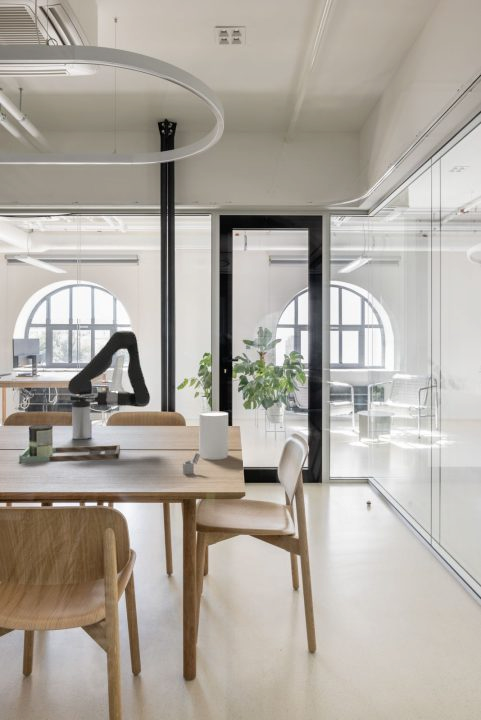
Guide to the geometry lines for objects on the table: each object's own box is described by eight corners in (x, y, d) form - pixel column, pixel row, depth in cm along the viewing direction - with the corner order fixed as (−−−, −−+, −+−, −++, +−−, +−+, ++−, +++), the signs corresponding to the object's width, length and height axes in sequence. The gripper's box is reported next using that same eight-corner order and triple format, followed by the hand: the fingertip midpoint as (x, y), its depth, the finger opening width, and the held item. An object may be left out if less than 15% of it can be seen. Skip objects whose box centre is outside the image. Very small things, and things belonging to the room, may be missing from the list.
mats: (115, 450, 246) (115, 449, 246) (114, 457, 232) (114, 456, 232) (90, 451, 243) (90, 450, 243) (87, 458, 229) (87, 457, 229)
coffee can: (25, 459, 227) (24, 428, 226) (34, 453, 237) (33, 424, 237) (48, 459, 227) (47, 428, 226) (56, 453, 237) (55, 424, 237)
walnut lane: (119, 449, 248) (119, 445, 248) (118, 458, 230) (118, 453, 230) (28, 452, 240) (28, 448, 239) (19, 462, 222) (19, 457, 221)
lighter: (184, 474, 204) (184, 455, 204) (182, 473, 206) (182, 454, 205) (200, 472, 207) (200, 453, 207) (198, 471, 209) (198, 452, 208)
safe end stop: (56, 451, 242) (56, 445, 242) (49, 461, 224) (49, 454, 224) (28, 452, 240) (28, 446, 239) (19, 462, 222) (19, 455, 221)
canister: (233, 455, 236) (234, 413, 235) (213, 461, 226) (213, 417, 225) (213, 451, 245) (214, 410, 244) (193, 455, 235) (193, 413, 234)
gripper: (109, 388, 250) (72, 388, 247) (107, 392, 237) (68, 392, 234) (108, 403, 250) (72, 403, 247) (107, 408, 237) (68, 408, 234)
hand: (70, 398), depth 240 cm, fingers closed
